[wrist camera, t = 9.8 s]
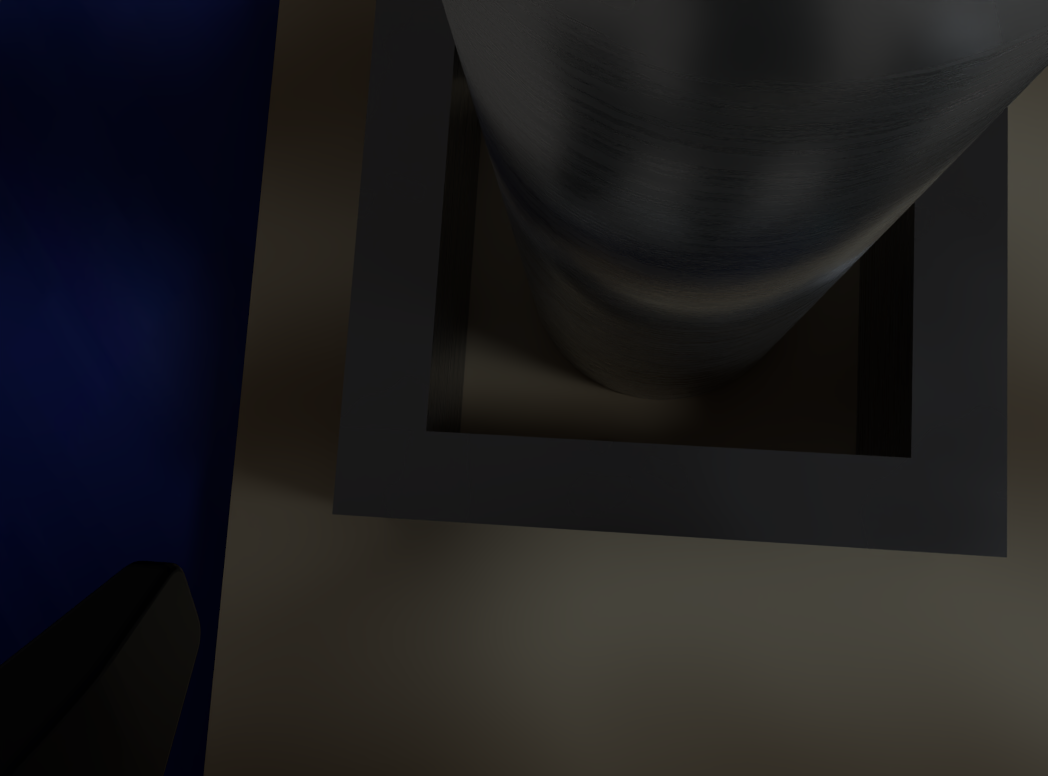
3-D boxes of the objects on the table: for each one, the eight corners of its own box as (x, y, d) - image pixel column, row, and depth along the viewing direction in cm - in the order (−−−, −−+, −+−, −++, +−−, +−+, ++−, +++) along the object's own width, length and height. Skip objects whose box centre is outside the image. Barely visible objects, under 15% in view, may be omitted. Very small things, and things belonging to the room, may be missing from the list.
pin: (838, 345, 16) (1480, -132, 4) (583, 438, 16) (535, 216, 4) (739, 105, 17) (1061, -876, 5) (494, 195, 17) (248, -556, 5)
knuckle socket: (932, 549, 16) (1006, 557, 13) (382, 515, 17) (332, 514, 14) (938, 20, 17) (1008, -86, 14) (422, 12, 18) (384, -91, 15)
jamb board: (1945, 1074, 14) (2042, 1115, 14) (213, 898, 17) (189, 922, 16) (1833, 30, 16) (1912, -1, 16) (298, 7, 19) (282, -21, 18)
